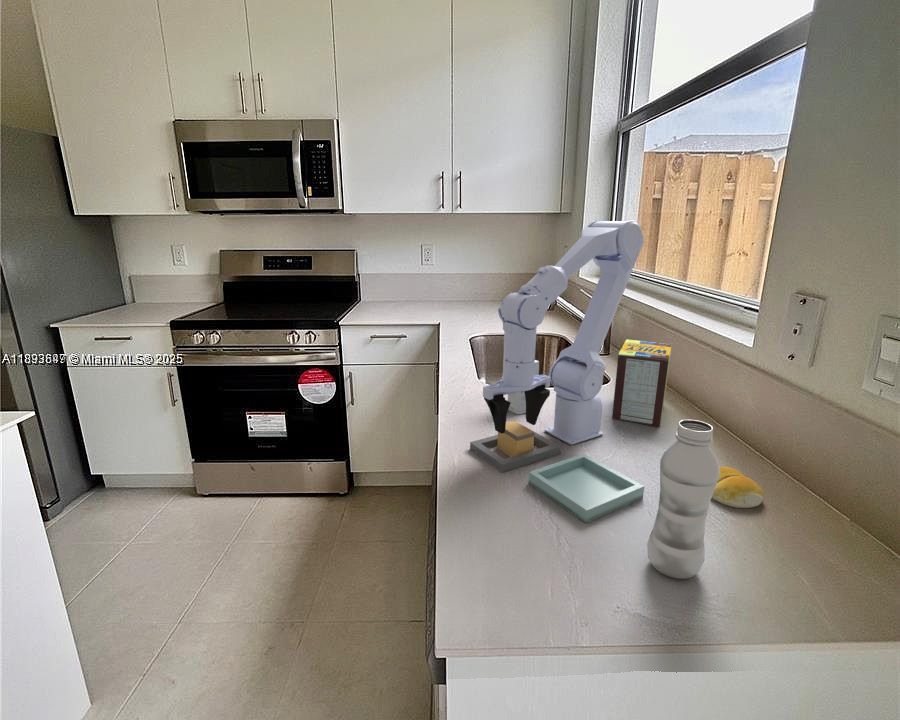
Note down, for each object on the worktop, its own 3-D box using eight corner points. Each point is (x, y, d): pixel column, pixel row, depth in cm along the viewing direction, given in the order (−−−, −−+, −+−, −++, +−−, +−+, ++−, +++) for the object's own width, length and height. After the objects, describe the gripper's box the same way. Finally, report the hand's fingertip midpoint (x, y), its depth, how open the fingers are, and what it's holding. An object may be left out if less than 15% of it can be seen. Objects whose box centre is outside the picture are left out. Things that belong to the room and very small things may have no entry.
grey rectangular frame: (525, 433, 100) (525, 426, 99) (560, 453, 91) (561, 446, 91) (470, 449, 93) (470, 442, 92) (502, 472, 84) (502, 464, 84)
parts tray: (582, 464, 87) (583, 453, 86) (642, 498, 76) (644, 486, 76) (528, 483, 80) (529, 472, 80) (585, 523, 70) (587, 510, 69)
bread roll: (732, 478, 83) (735, 458, 82) (771, 508, 74) (776, 485, 73) (687, 481, 82) (691, 460, 81) (722, 511, 73) (726, 488, 72)
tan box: (513, 443, 95) (514, 420, 94) (533, 455, 90) (534, 431, 89) (497, 448, 93) (497, 424, 92) (516, 460, 88) (517, 436, 87)
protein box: (663, 404, 116) (672, 343, 112) (660, 427, 103) (669, 359, 98) (619, 397, 120) (625, 338, 116) (610, 419, 107) (617, 353, 103)
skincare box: (518, 415, 109) (520, 365, 106) (506, 409, 113) (507, 360, 109) (538, 409, 112) (540, 361, 109) (525, 404, 116) (527, 356, 112)
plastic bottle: (635, 552, 64) (653, 415, 58) (683, 550, 64) (706, 413, 59) (660, 588, 57) (683, 438, 52) (712, 584, 58) (741, 436, 52)
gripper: (534, 349, 94) (530, 412, 97) (474, 359, 86) (472, 427, 90) (559, 357, 88) (554, 424, 91) (497, 369, 80) (494, 441, 84)
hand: (515, 427), depth 90 cm, fingers open, 7 cm apart
